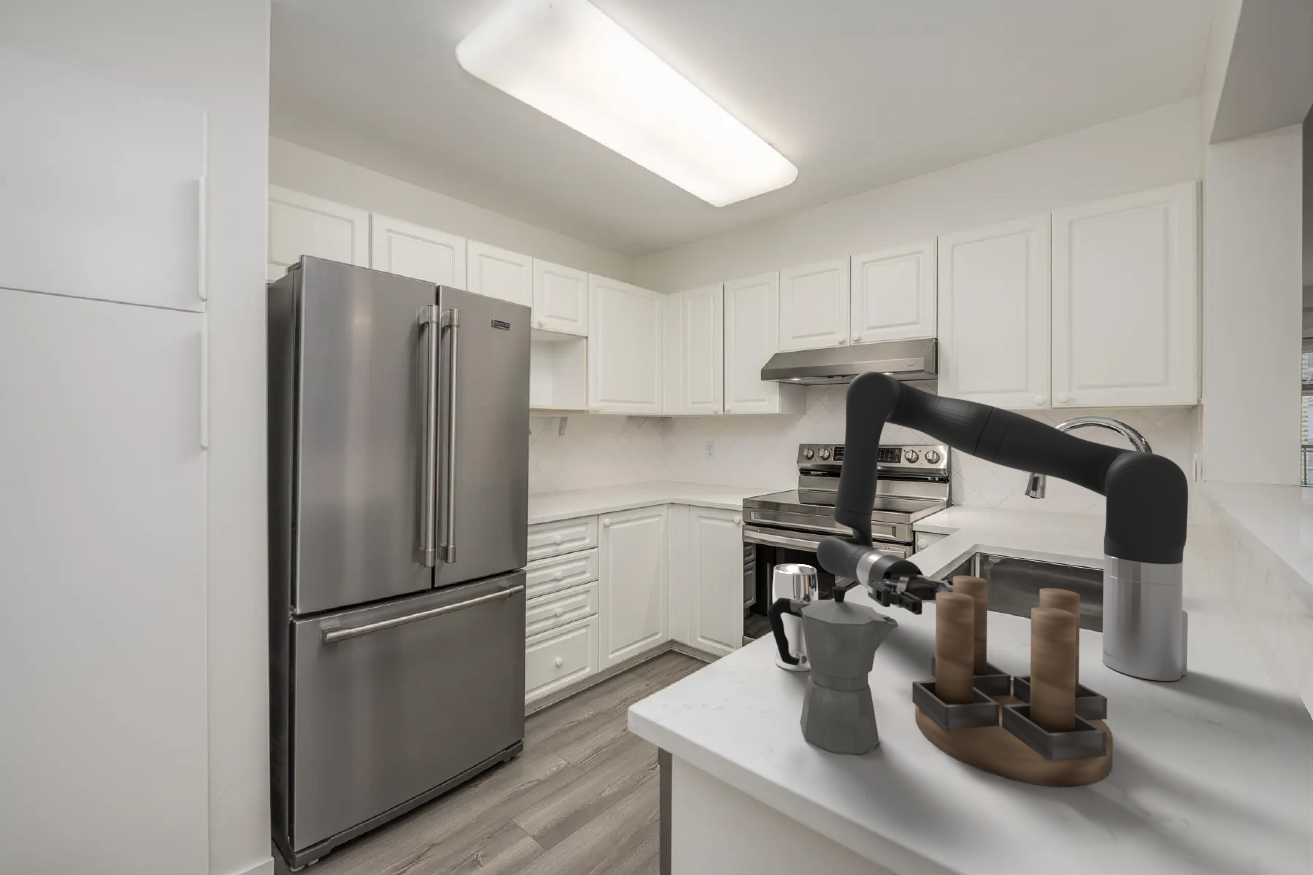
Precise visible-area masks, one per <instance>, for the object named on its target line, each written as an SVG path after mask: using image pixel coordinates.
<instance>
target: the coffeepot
mask: <svg viewBox="0 0 1313 875" xmlns="http://www.w3.org/2000/svg"><path fill="white" fill-rule="evenodd" d="M831 588H832V589H831V590H832V595H833V596H832V597H833V599H818V600H816V601H812V602H809V603H808V602H806V601H803V600H796V599H793V600H791V599H788V598H779V599H778V600H777V601H776V602H775V603H774V604H773V603H772V605H770V606H769V607H768V609H767V612H766V613H767V619H768V621H769V624H770V627H771V631H772V633H773V637H774V639H775V643H776V646H778V650H779V653H780V656H781V659H782V661H783V662H784V663H787V664H790V665H798V663H799V660H800V659H799V658H795V657H793V656H791V655H790V653H789V643H788V639H787V637H786V635H785V632H784V624H783V620H782V618H781V614H782V613H788V614H790V615H793V616H797V617H800V618H802V623H803V630H804V637H805V644H806V651H807V658H808V662H809V664H810V666H811V668H810V670H809V671H810V672H809V673H810V674H809V675H808V676H807V682H806V687H805V693H804V698H803V705H802V709H801V716H800V721H799V724H800V727H801V733H802V735H803V737H804V739H805V740H806V741H808V742H809V743H810V744H811V745H813V746H815V747H817V748H819V749H821V750H823V751H826V752H829V753H833V754H837V755H847V756H848V755H849V756H852V755H853V756H854V755H861V754H865V753H868V752H870V751H872V750H873V749H875V747H876V745H877V744H879V743H880V738H879V737H880V736H879V732H878V726H877V719H876V714H875V708H874V700H873V695H872V690H871V687H870V684H869V673H870V672H872V671H873V666H874V661H875V656H876V652H877V651H878V648H879V647H880V645H881V644H882V642H883V641H884V640H885V638H886V637H887V636H888V635H889V634H890V633H891V631H892V630H893V629H896V628H898V627H899V624H898V622H897V620H896V619H894V618H892V617H891V616H889V615H885V614H882V613H879V612H876V610H875V609H874V608H873V607H871V606H867V605H864V604H861V603H860V604H859V603H855V602H851V601H849V600H845V596H846V591H847V588H846V587H844V586H841V585H837V586H832V587H831Z"/></svg>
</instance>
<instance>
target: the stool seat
mask: <svg viewBox="0 0 1313 875" xmlns="http://www.w3.org/2000/svg"><path fill="white" fill-rule="evenodd" d="M935 598H936V604H935V656H931V669H930V670H931V672H930V674H931V676H932V677H931V678H928V679H926V680H920V681H919V680H917V681H916V680H915V681H912V686H911V688H912V694H911V695H912V696H911V698H912V700H911V701H912V703H913V704H914V705H915V706H914V707H915V711H914V714H915V715H914V716H915V724H916V725H917V727H918V729H919V731H920V732H921V734H922V735H923V736H924V737H925V738H926V739H927V740H928V741H929V742H931V744H933V745H934V746H935V747H937V748H938V749H939V750H941V751H943V752H944V753H946V754H948V755H949V756H951V757H952V758H954V759H956V760H958V761H961V762H962V763H964V764H965V765H969V766H971V767H972V768H973V767H974V768H975V769H978V770H980V771H984V772H987V773H990V774H992V775H994V776H995V775H996V776H998V777H1001V778H1005V779H1009V780H1013V781H1017V782H1020V783H1027V784H1031V785H1036V786H1045V787H1057V788H1058V787H1062V788H1066V787H1067V788H1069V787H1070V788H1072V787H1073V788H1075V787H1082V786H1083V787H1084V786H1089V785H1093V784H1097V783H1099V782H1100V781H1103V780H1104V779H1105V778H1107V777H1108V776H1110V774H1111V772H1112V770H1113V757H1114V756H1113V752H1114V751H1113V750H1114V749H1113V747H1114V744H1113V743H1114V742H1113V740H1114V738H1113V734H1112V730H1111V728H1110V727H1109V725H1108V724H1107V723H1106V722H1105V721H1104V720H1107V719H1108V697H1106V696H1104V695H1103V694H1100V693H1098V692H1096V691H1095V690H1093V689H1091V688H1090V687H1087V686H1085V685H1083V684H1082V683H1080V629H1081V628H1080V627H1081V626H1080V621H1081V616H1080V615H1081V614H1080V613H1081V612H1080V610H1081V608H1080V607H1081V601H1080V600H1081V594H1080V593H1077V592H1075V591H1072V590H1066V589H1063V588H1062V589H1061V588H1054V587H1053V588H1052V587H1051V588H1050V587H1044V588H1043V587H1042V588H1040V589H1039V606H1035V607H1032V608H1031V609H1030V669H1029V670H1030V675H1013V676H1012V675H1011V674H1009V673H1008V672H1006V671H1004V670H1002V669H1001V668H999V667H997V666H995V665H994V664H992V663H990V662H989V661H987V675H978V676H973V667H974V598H973V597H972V596H969V595H966V594H962V593H957V592H941V591H939V592H937V594H936V597H935ZM1012 677H1013V679H1012Z"/></svg>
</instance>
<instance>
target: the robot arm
mask: <svg viewBox="0 0 1313 875" xmlns="http://www.w3.org/2000/svg"><path fill="white" fill-rule="evenodd" d="M845 396H846V397H845V433H844V434H845V435H844V436H845V438H844V450H843V457H842V463H841V464H842V465H841V470H840V477H839V482H838V488H837V492H836V497H835V498H836V499H835V503H834V510H833V520H835V522H836V523H837V524H839V525H841V526H844V527H847V528H850V529H851V530H852V537H850V536H840V535H839V536H838V535H828V536H825V537H824V538H822V539H821V540H820V542H819V543H818V544H817V549H816V558H817V560H818V563H819V565H820V566H821V568H823V570H825V571H826V572H828V573H830V574H831V575H832V574H833V575H836V576H840V577H842V578H846V579H850V580H851V581H855V582H856V583H858V584H859V585H861V586H863V587H864V588H865V589H866V590H867V597H869V598H870V599H871V600H873V601H875V603H877V604H879V605H880V606H882V607H884V608H890V607H891V605H892V606H894V607H896V608H898V609H905V610H907V611H908V612H911V613H912V614H914V615H917V616H918V615H921V616H922V614H923V603H924V604H925V603H931V604H935V605H936V594H937V593H938V591H940V592H953V578H952V577H951V578H950V577H948V576H946V577H942V580H941V579H934V578H930V577H929V576H927V575H924V574H923V572H922V571H921V569H920V568H919V566H918V565H917V564H915V562H913V561H910V560H907V559H905V558H903V557H901V556H898V555H896V554H893V553H891V552H889V551H883V550H880V549H877V548H875V547H874V544H873V529H872V517H873V511H874V506H875V500H876V495H877V486H878V454H879V446H880V440H881V435H882V432H883V429H884V426H885V424H886V423H887V424H893V425H896V426H900V427H905V428H908V429H911V430H915V431H918V432H921V433H924V434H925V435H928V436H930V437H932V438H933V439H935V440H937V441H938V442H941V443H942V444H944V445H947V446H949V447H950V448H953V449H955V450H958V451H959V452H962V453H965V454H967V455H969V456H971V457H975V458H978V459H981V460H984V461H987V462H990V463H993V464H996V465H999V466H1003V467H1007V468H1010V469H1013V470H1014V469H1015V470H1018V471H1022V472H1027V473H1032V474H1036V475H1037V474H1039V475H1042V476H1047V477H1052V478H1056V479H1060V480H1062V481H1066V482H1069V483H1072V484H1074V485H1076V486H1080V487H1083V488H1085V489H1087V490H1089V491H1092V492H1094V493H1097V494H1098V495H1100V496H1103V497H1105V498H1106V499H1105V501H1106V502H1105V506H1106V508H1105V528H1104V529H1105V531H1104V536H1103V585H1102V586H1103V587H1102V588H1103V593H1102V594H1103V599H1102V601H1103V602H1102V605H1103V606H1102V609H1103V610H1102V615H1103V616H1102V662H1103V664H1104V665H1105V666H1107V667H1109V668H1110V669H1112V670H1114V671H1117V672H1120V673H1123V674H1126V675H1128V676H1132V677H1137V678H1141V679H1146V680H1151V681H1158V682H1159V681H1161V682H1172V681H1178V680H1180V679H1181V678H1182V676H1187V675H1188V634H1189V633H1188V632H1189V631H1188V627H1189V626H1188V625H1189V624H1188V623H1189V622H1188V621H1189V616H1188V612H1187V611H1186V610H1184V609H1183V578H1184V577H1183V566H1184V562H1183V561H1184V549H1185V546H1186V543H1187V537H1188V536H1187V534H1188V516H1189V515H1188V513H1189V512H1188V510H1189V509H1188V508H1189V487H1188V485H1189V484H1188V480H1187V477H1186V474H1185V473H1184V471H1183V469H1182V468H1181V467H1180V466H1179V465H1178V464H1177V463H1175V461H1172V460H1171V459H1169V458H1167V457H1166V456H1163V455H1159V454H1155V453H1151V452H1147V451H1138V450H1137V451H1136V450H1131V449H1125V448H1120V447H1116V446H1111V445H1106V444H1103V443H1099V442H1094V441H1091V440H1087V439H1083V438H1080V437H1077V436H1075V435H1072V434H1069V433H1067V432H1065V431H1063V430H1060V429H1058V428H1056V427H1054V426H1051V425H1049V424H1047V423H1044V422H1041V421H1039V420H1037V419H1034V418H1031V417H1029V416H1026V415H1022V414H1021V413H1020V414H1019V413H1016V412H1014V411H1010V410H1006V409H1004V408H1000V407H995V406H992V405H989V404H986V403H981V402H975V401H971V400H966V399H961V398H955V397H954V398H953V397H947V396H943V395H942V396H941V395H936V394H934V393H933V394H932V393H930V392H927V391H925V390H922V389H919V388H916V387H914V386H912V385H910V384H909V385H908V384H906V383H904V382H902V381H899V380H898V379H896V378H894V377H892V376H890V375H887V374H884V373H882V372H878V371H865V372H862V373H860V374H858V375H857V376H854V378H853V379H852V380H851V381H850V383H849V384H848V386H847V389H846V395H845Z"/></svg>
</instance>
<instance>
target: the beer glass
mask: <svg viewBox="0 0 1313 875" xmlns="http://www.w3.org/2000/svg"><path fill="white" fill-rule="evenodd" d="M817 571H818V570H817V569H816V567H814V566H811V565H808V564H807V565H806V564H800V563H781V564H777V565H775V566H774V567H773V577H772V578H773V579H772V605H773V604H774V603H775V602H776V601H777V600H778V599H779V598H788V599H791V600H793V599H796V600H803V601H806V602H808V603H809V602H812V601H816V600H819V588H818V587H819V586H818V576H817V575H818V573H817ZM781 618H782V620H783V624H784V632H785V635H786V637H787V639H788V643H789V653H790V655H791V656H793V657H795V658H799V659H800V660H799V663H798V665H790V664H787V663H784V662H783V661H782V659H781V656H780V653H779V650H778V646H777V645H776V646H777V648H776V652H775V653H776V654H775V659H774V660H775V661H774V662H775V664H776V665H777V666H778V667H779V666H780V667H779V668H782V669H784V670H786V669H787V670H788V671H792V672H807V671H810V668H811V666H810V664H809V662H808V658H807V651H806V644H805V637H804V630H803V623H802V618H800V617H797V616H793V615H790V614H788V613H782V614H781ZM787 670H786V671H787Z"/></svg>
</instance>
